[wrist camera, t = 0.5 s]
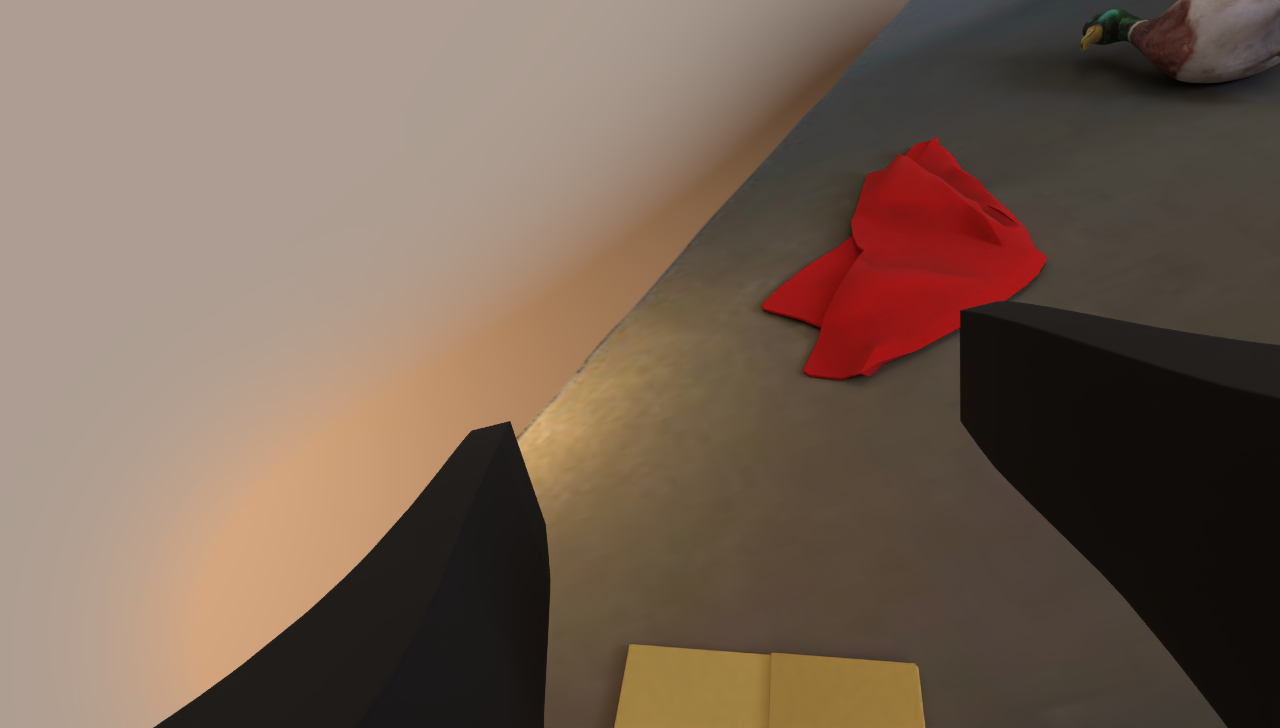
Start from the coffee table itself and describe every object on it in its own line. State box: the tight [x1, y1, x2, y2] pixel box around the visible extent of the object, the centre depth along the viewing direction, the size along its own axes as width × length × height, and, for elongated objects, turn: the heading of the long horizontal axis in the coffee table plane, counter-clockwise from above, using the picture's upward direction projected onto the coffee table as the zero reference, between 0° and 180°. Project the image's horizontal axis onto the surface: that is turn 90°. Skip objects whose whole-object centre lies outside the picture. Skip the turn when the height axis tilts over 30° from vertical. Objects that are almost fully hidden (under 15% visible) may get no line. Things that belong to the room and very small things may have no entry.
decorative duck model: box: [1081, 0, 1280, 83], centre depth 51 cm, size 15×8×15 cm
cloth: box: [761, 137, 1047, 380], centre depth 43 cm, size 26×14×2 cm, turn 143°
